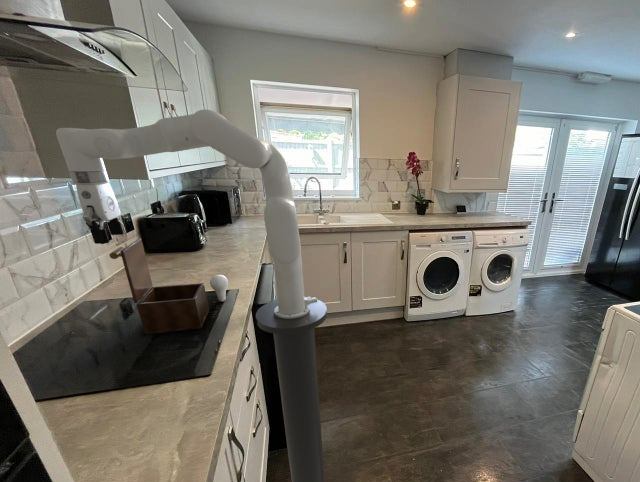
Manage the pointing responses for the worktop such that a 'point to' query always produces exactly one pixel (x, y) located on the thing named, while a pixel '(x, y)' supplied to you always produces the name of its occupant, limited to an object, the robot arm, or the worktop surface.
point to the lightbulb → (219, 286)
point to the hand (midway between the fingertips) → (110, 238)
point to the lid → (135, 268)
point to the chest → (173, 308)
